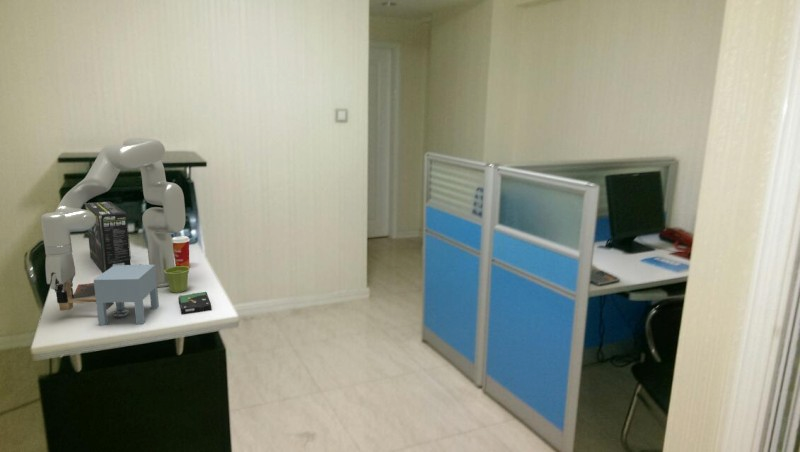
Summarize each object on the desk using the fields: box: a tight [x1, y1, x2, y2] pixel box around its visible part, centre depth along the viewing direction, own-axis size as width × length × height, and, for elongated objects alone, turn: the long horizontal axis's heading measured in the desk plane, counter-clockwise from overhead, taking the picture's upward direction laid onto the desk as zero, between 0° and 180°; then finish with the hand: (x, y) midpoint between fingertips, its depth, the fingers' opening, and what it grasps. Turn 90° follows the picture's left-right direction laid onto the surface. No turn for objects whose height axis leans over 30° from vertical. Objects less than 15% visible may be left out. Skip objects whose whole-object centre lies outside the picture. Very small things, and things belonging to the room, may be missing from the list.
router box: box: [84, 201, 132, 274], centre depth 236 cm, size 36×11×27 cm, turn 39°
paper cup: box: [172, 235, 191, 268], centre depth 234 cm, size 8×8×14 cm
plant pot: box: [164, 266, 190, 294], centre depth 207 cm, size 9×9×9 cm
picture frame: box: [73, 282, 96, 298], centre depth 205 cm, size 16×2×22 cm
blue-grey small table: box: [93, 264, 160, 326], centre depth 181 cm, size 16×15×16 cm
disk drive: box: [178, 291, 213, 315], centre depth 193 cm, size 10×3×15 cm
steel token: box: [112, 308, 130, 319], centre depth 182 cm, size 5×5×2 cm
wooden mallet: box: [57, 280, 115, 312], centre depth 179 cm, size 8×15×10 cm, turn 96°
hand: (65, 300), depth 179 cm, fingers closed on wooden mallet, 3 cm apart
